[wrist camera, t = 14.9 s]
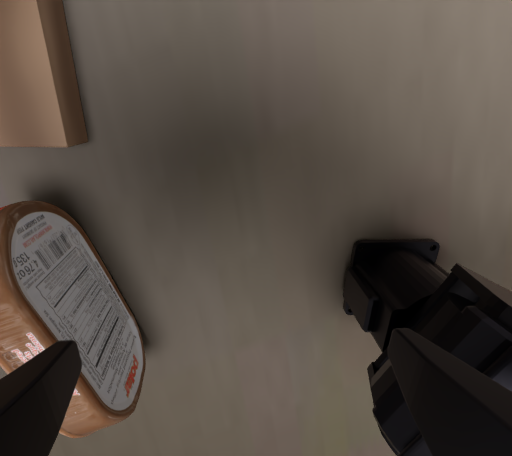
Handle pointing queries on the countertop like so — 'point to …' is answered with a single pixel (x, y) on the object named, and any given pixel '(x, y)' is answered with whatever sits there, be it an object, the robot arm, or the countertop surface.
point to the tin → (67, 313)
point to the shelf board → (38, 77)
